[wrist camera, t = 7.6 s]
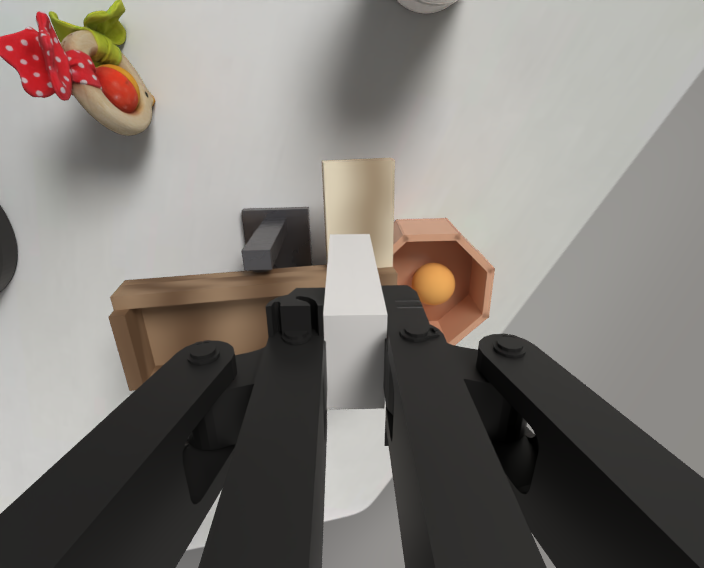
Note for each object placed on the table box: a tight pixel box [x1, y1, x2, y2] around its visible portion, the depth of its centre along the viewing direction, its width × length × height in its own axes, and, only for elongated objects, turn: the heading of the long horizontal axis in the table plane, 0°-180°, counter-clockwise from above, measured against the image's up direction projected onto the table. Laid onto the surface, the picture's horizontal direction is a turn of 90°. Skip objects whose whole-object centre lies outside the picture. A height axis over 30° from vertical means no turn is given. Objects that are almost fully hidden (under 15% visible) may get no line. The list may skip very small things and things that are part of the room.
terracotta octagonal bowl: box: [393, 218, 495, 345], centre depth 39 cm, size 11×11×5 cm
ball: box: [412, 263, 455, 305], centre depth 39 cm, size 4×4×4 cm
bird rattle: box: [0, 0, 155, 136], centre depth 30 cm, size 6×11×9 cm
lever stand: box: [242, 207, 312, 271], centre depth 37 cm, size 6×14×10 cm, turn 1°
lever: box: [109, 158, 398, 391], centre depth 32 cm, size 20×16×6 cm
